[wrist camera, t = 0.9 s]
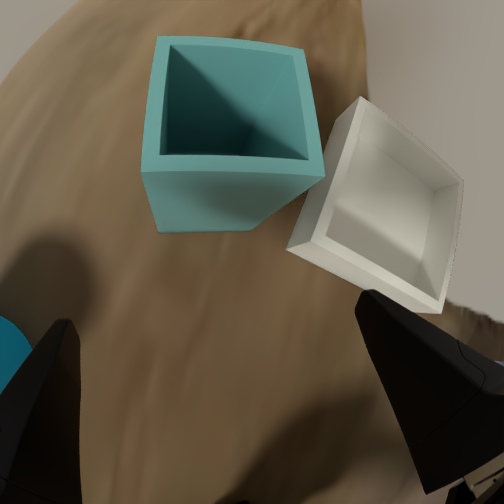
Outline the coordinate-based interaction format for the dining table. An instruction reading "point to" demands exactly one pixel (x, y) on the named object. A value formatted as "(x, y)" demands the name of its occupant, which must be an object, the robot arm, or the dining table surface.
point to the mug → (11, 351)
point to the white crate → (382, 211)
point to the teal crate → (227, 133)
